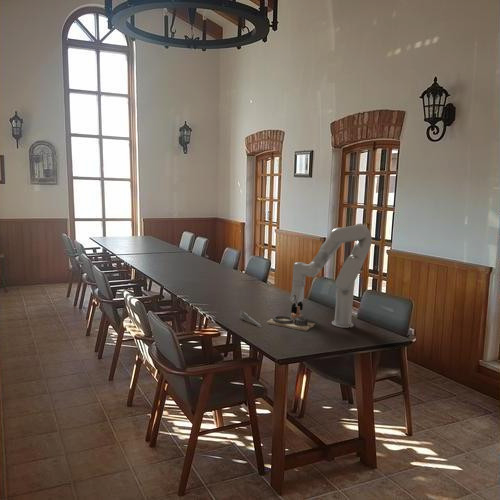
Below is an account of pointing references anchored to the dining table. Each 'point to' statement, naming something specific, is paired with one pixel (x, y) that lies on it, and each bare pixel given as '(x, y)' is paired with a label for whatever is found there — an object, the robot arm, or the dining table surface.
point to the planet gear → (295, 315)
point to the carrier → (291, 322)
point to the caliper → (246, 316)
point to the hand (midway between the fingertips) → (296, 311)
